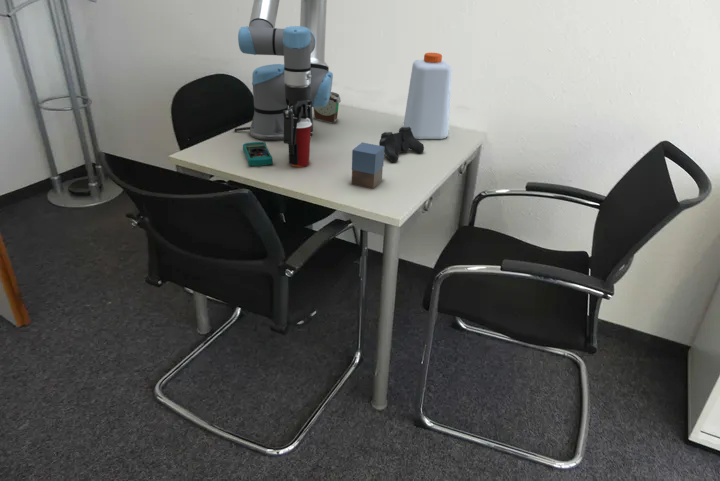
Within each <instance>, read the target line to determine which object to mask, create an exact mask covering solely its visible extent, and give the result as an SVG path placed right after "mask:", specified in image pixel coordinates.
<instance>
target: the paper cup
mask: <svg viewBox="0 0 720 481" xmlns="http://www.w3.org/2000/svg"><path fill="white" fill-rule="evenodd" d="M293 118H294V117H293ZM296 119H297V118H296ZM311 125H312V123H311V121H310V119H309V118H306V119H304V118H301V121H300V122H299V123H297V127H296V128H297V139H296V144H298V165H294V164H290V165H291V166H292V167H295V168H305V167H307V166H309V162H310V151H311V148H310V147H311V136H310V135H311V133H312V132H311Z"/></svg>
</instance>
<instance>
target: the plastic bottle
mask: <svg viewBox="0 0 720 481" xmlns="http://www.w3.org/2000/svg"><path fill="white" fill-rule="evenodd" d="M423 57H424V58H423V59H417V60H414V61H413V62H412V66H411V74H410V79H409V86H408V93H407V100H406V106H405V113H404V120H403V125H402V127H410V128H411V131H412V133H413V136H414V137H415V138H416V140H443V139H445V138H447V137H448V136H449V132H450V130H449V128H450V113H451V112H450V111H451V95H452V94H451V92H452V78H453V74H452V73H453V69H452V66H451V65H450V64H449V63H448V62H447V61H444V60H443V55H442V53H439V52H425V53H424V55H423Z"/></svg>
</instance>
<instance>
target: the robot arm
mask: <svg viewBox="0 0 720 481" xmlns="http://www.w3.org/2000/svg"><path fill="white" fill-rule="evenodd" d="M279 5H280V0H253V4H252V7H251V13H250V17H249V18H250V19H249V21H248V22H249V23H248V25H247V26H241V27H240V28H239V30H238V34H237V44H238V47H239V51H240V52H241V53H243V54H246V55H254V56H257V55H259V56H277V57H278V56H280V57H283V64H282V63H274V64H266V65H262V66H259V67H256V68H255V69H254V70H253V71H252V76H251V77H252V78H251V79H252V82H251V85H252V98H253V110H254V112H253V116H252V120H251V124H250V126H244V127H236V128H234V129H233V130H234V132H241V131H250V132H249V133H250V136H251V137H252V138H255V139H257V140H262V141H281V140H282V141H283V144H284V145H285V144H286V145H287V146H288V163H289V165H291V164H294V165H298V144H296V139H297V128H296V127H297V123H299V122H300V121H301V118H304V119H306V118H309V119H310V121H311V123H312V125H311V135H310V137H313V132H314V120H313V107H325V106H326V105H327V104H328V102H329V98H330V94H331V92H332V87H333V79H334V74H333V72H331V71H329V69H330V66H329V65H328V64H327V63H326V61H325V59H326V58H325V57H326V34H327V32H326V30H327V7H328V0H300V13H299V14H300V15H299V18H300V20H299V25H293V26H292V25H290V26H286V27H284V28H277V27H276V23H277V17H278V11H279ZM293 117H294V118H293ZM296 118H297V119H296Z"/></svg>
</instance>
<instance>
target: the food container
mask: <svg viewBox="0 0 720 481" xmlns="http://www.w3.org/2000/svg"><path fill="white" fill-rule="evenodd" d="M341 101H342V100H341V96H340V94H339V93H337V92H334V91H331V94H330V98H329V102H328V104H327V105H326V106H325V107H312V109H313V118H314V120H317V121H321V122H324V123H325V122H326V123H330V124H333V125H334V124H337V122H338V114H339V105H340V103H341Z"/></svg>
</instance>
